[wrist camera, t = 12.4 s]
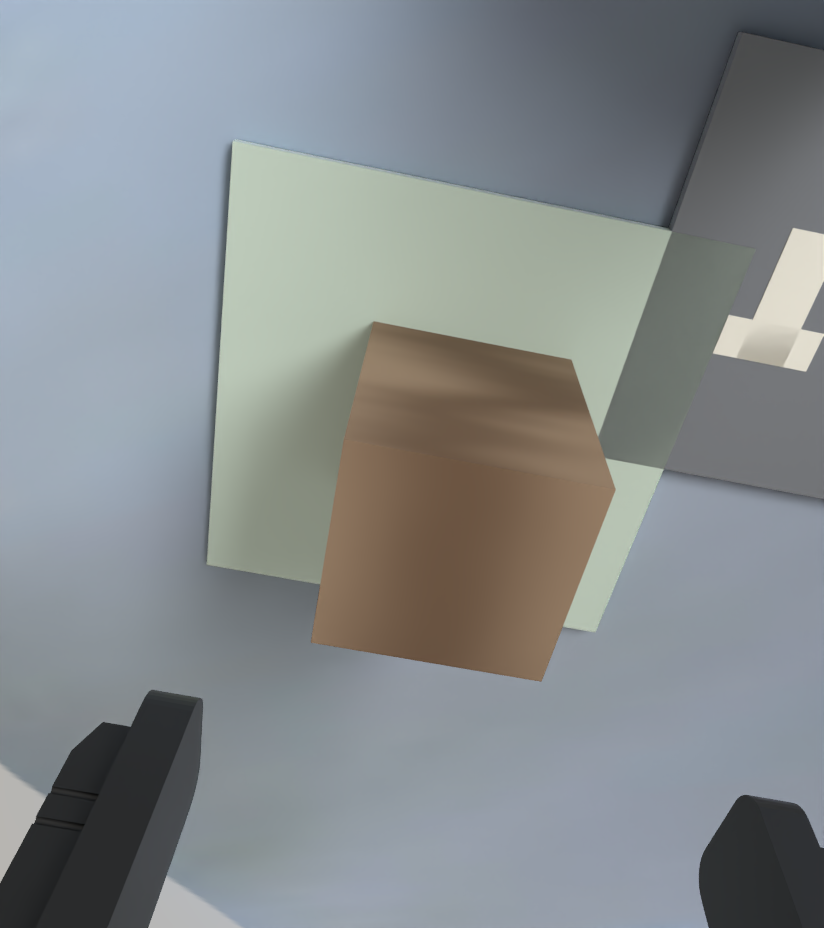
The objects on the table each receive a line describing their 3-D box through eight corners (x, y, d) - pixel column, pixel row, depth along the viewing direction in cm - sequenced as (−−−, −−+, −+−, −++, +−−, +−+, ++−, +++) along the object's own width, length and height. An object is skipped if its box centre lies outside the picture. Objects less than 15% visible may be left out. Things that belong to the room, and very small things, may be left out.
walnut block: (571, 359, 19) (616, 489, 14) (520, 520, 22) (541, 681, 16) (373, 321, 19) (343, 439, 14) (345, 489, 21) (310, 642, 16)
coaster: (751, 245, 18) (756, 248, 17) (593, 625, 24) (595, 632, 24) (235, 139, 17) (232, 141, 17) (209, 558, 23) (206, 564, 23)
